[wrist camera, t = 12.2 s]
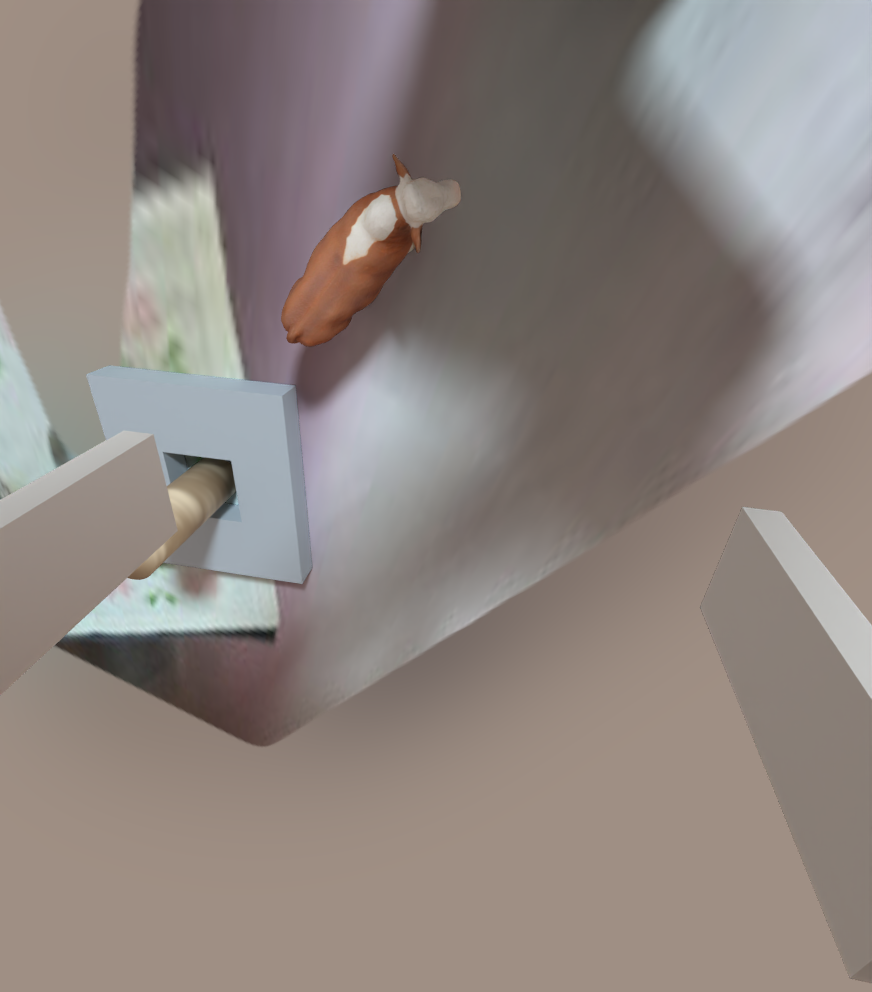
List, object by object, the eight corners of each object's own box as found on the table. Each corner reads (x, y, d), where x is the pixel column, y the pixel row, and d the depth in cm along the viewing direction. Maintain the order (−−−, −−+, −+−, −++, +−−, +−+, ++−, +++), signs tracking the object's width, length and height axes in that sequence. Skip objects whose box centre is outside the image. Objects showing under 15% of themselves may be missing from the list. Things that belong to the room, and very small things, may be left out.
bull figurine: (482, 203, 32) (468, 205, 25) (338, 340, 38) (293, 372, 31) (437, 139, 30) (408, 121, 23) (295, 291, 36) (238, 313, 29)
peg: (192, 453, 45) (91, 528, 34) (235, 458, 44) (145, 536, 34) (201, 492, 47) (107, 575, 37) (242, 498, 46) (159, 583, 36)
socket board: (109, 365, 42) (86, 374, 40) (295, 385, 40) (282, 396, 38) (158, 544, 51) (142, 559, 49) (312, 567, 49) (302, 584, 47)
